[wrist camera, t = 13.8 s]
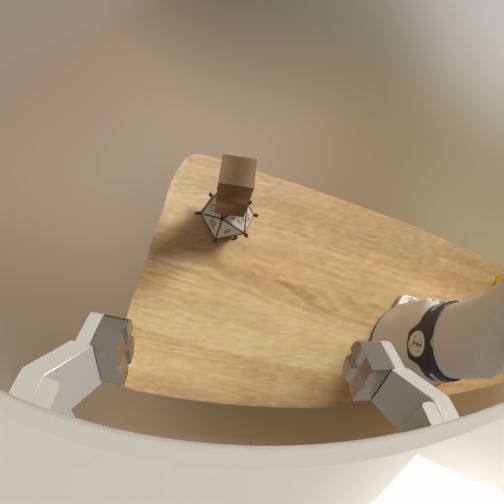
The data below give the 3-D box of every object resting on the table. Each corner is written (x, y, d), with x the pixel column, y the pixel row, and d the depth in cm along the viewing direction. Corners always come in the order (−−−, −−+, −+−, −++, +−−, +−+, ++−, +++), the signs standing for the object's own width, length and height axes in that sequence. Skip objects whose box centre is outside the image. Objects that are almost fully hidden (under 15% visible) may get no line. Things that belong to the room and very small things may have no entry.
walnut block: (246, 191, 42) (256, 159, 35) (243, 217, 41) (253, 188, 34) (218, 187, 42) (223, 154, 34) (214, 213, 40) (218, 182, 33)
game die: (233, 228, 53) (278, 206, 47) (215, 263, 47) (263, 243, 41) (199, 190, 49) (241, 162, 43) (174, 223, 44) (219, 195, 37)
